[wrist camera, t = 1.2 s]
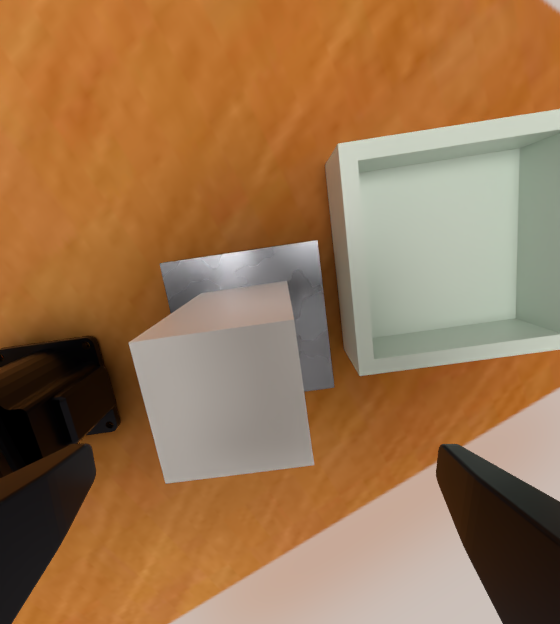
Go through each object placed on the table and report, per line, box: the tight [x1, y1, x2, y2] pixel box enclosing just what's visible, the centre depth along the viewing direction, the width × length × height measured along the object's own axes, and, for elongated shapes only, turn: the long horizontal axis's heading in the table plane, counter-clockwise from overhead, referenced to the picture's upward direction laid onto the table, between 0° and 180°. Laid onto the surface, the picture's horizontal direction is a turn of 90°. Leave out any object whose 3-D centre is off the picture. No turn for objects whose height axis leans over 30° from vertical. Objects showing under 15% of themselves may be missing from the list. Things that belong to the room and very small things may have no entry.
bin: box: [325, 109, 560, 376], centre depth 17 cm, size 11×11×4 cm
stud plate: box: [160, 240, 334, 391], centre depth 18 cm, size 9×9×4 cm
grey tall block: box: [129, 281, 314, 484], centre depth 14 cm, size 5×5×9 cm
